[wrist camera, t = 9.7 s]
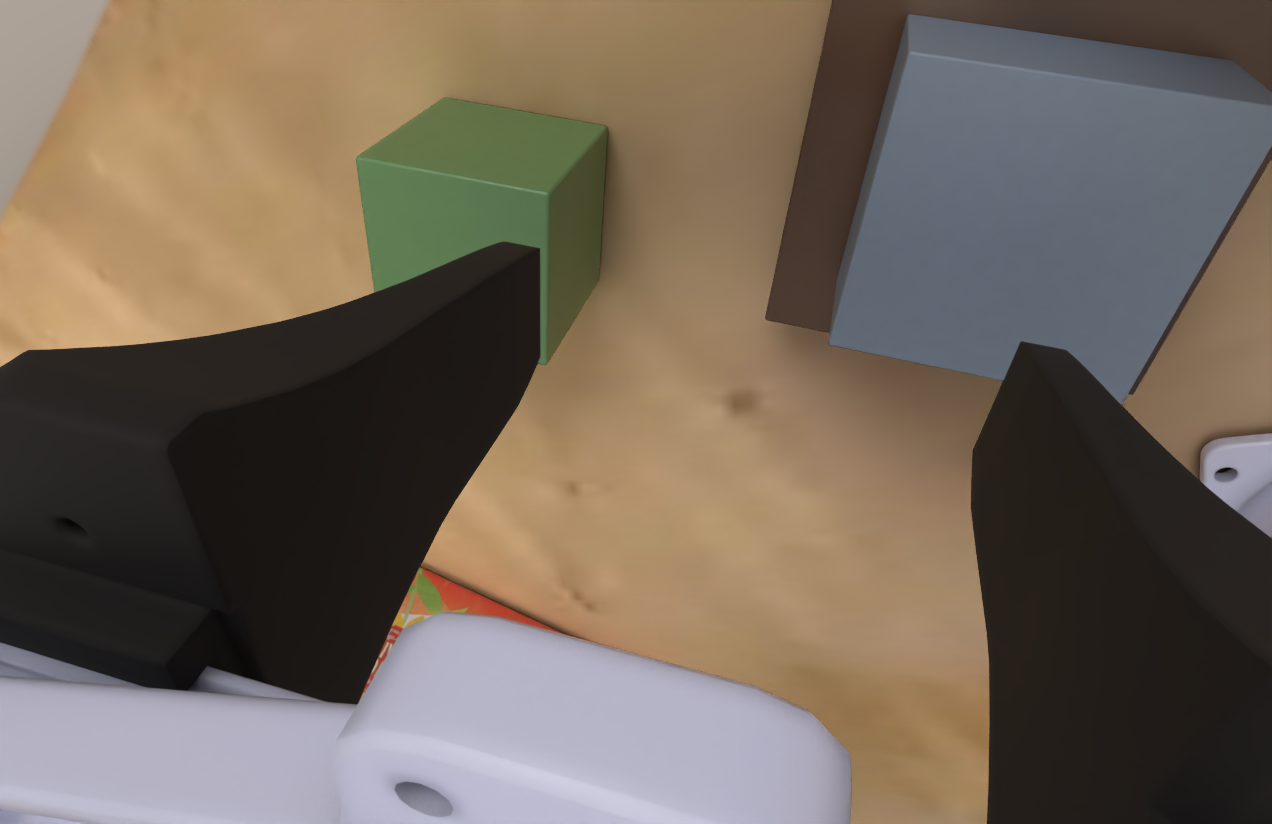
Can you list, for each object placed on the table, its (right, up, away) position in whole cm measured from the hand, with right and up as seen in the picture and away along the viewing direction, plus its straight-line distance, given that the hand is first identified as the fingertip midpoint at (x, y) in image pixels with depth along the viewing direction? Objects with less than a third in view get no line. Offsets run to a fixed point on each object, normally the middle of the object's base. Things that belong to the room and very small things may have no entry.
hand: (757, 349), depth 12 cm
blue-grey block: (+6, +4, +5) cm, 9 cm away
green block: (-5, +5, +10) cm, 13 cm away
